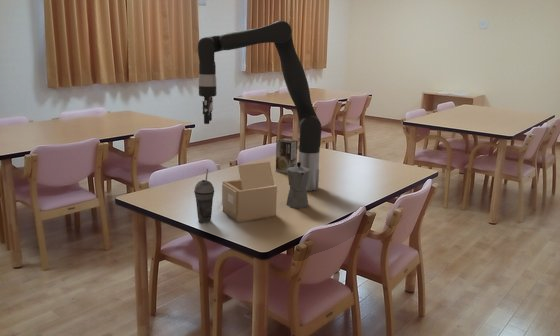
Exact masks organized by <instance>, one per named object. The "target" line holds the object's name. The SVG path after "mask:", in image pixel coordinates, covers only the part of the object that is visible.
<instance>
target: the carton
mask: <svg viewBox="0 0 560 336" xmlns="http://www.w3.org/2000/svg"><path fill="white" fill-rule="evenodd" d="M277 193H278V185H276V184H274V186H267V187H260V188H253V189H247V190H242V185H241V179H240V178H239V179H233V180H224V181H222V184H221V205H222V212H223V213H224V214H226V215H227V216H228V217H229V218H231V219H233V220H234V221H235V222H237V224H241V223H246V222H250V221H251V222H252V221H257V220H262V219H263V220H264V219H267V218H273V216H274V217H276V216H277V199H278V196H277V195H278V194H277Z"/></svg>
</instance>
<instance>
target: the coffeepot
mask: <svg viewBox="0 0 560 336" xmlns="http://www.w3.org/2000/svg"><path fill="white" fill-rule="evenodd" d="M300 165H301V163H300V162H298V161H297V165H296V164H293V165H292V167H289V168H288V170H287V171H288V173H287V177H288V185H289V190H288V194H287V199H286V206H287V207H289V208H293V209H303V208H304V207H305V208H307V207H308V206H309V200H308V191H307V190H306V186H307V182H308V177H309V172H310V169H308V168H306V167H301V166H300Z"/></svg>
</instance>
